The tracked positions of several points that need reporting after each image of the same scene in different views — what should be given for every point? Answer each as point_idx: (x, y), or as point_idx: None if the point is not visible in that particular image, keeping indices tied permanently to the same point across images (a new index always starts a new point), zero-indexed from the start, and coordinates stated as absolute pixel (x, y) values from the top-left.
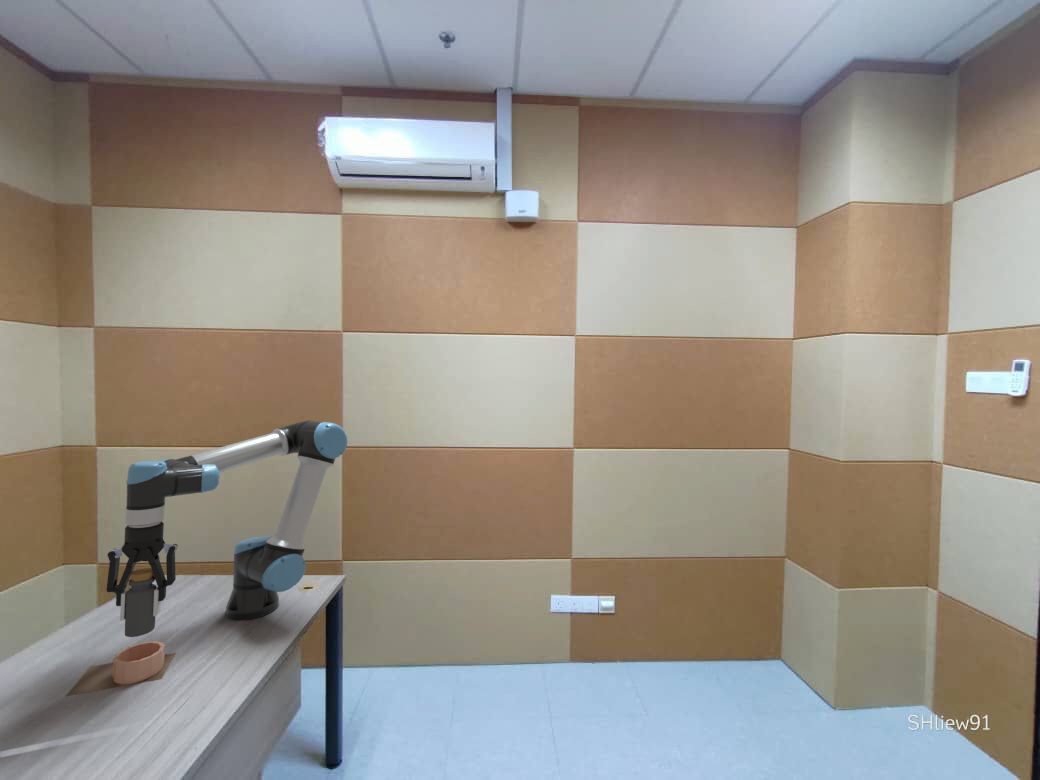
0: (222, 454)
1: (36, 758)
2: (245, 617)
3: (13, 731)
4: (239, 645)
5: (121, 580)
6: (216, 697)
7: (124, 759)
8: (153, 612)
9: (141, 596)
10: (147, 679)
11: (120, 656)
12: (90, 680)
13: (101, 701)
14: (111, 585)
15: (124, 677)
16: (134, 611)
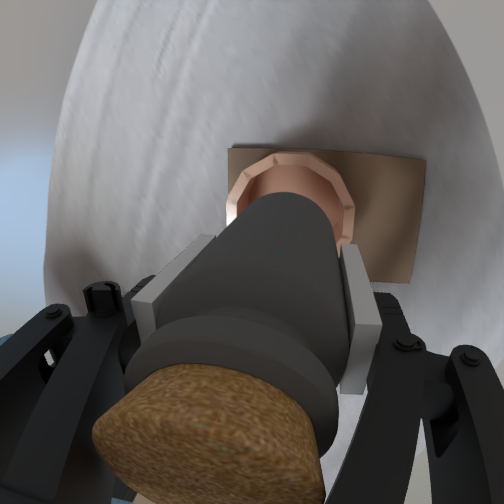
0: None
1: None
2: None
3: (466, 85)
4: (115, 259)
5: (408, 424)
6: (111, 62)
7: None
8: (208, 242)
9: (223, 256)
10: (261, 158)
11: (341, 227)
12: (395, 212)
13: (344, 117)
14: (472, 385)
15: (310, 153)
16: (281, 219)
